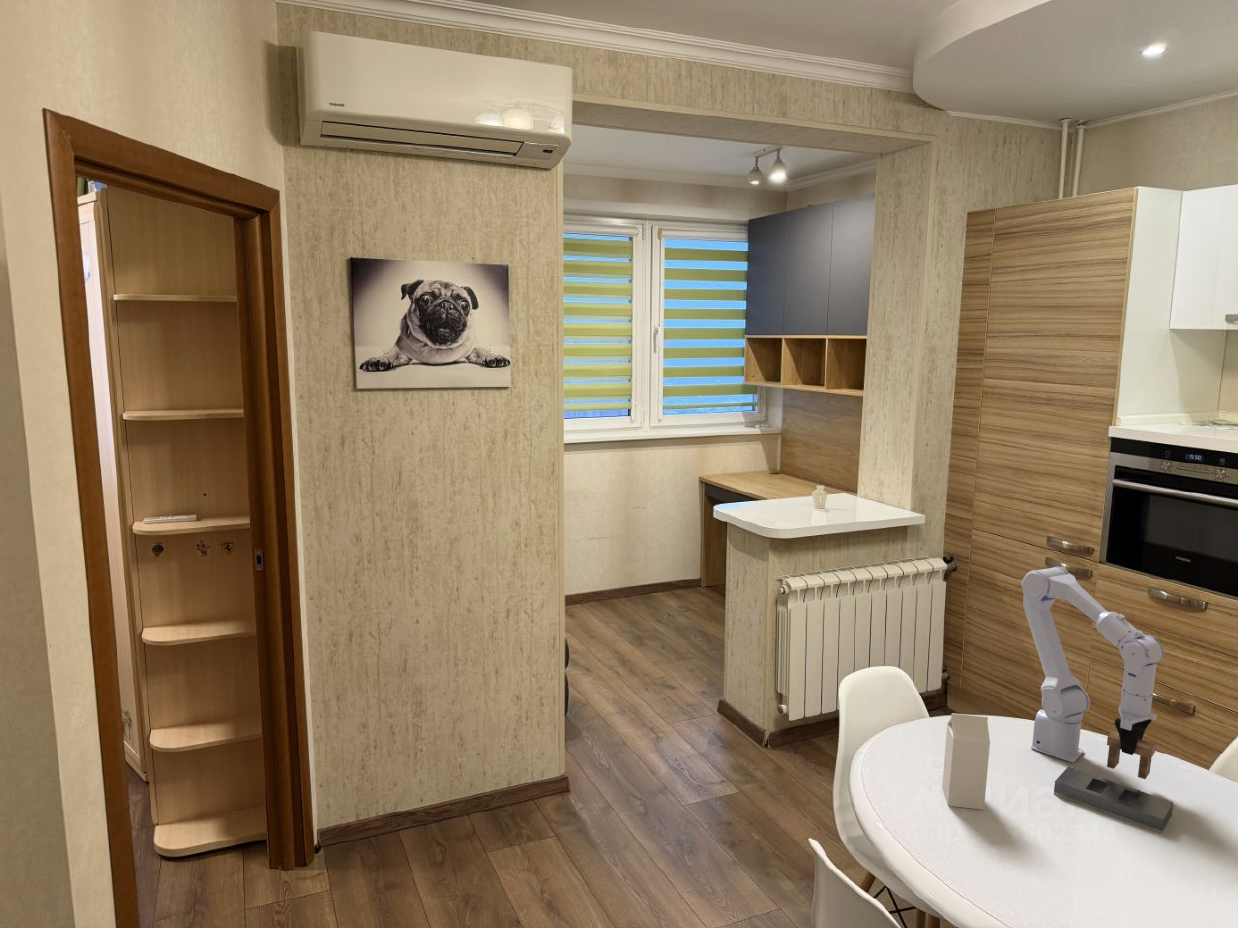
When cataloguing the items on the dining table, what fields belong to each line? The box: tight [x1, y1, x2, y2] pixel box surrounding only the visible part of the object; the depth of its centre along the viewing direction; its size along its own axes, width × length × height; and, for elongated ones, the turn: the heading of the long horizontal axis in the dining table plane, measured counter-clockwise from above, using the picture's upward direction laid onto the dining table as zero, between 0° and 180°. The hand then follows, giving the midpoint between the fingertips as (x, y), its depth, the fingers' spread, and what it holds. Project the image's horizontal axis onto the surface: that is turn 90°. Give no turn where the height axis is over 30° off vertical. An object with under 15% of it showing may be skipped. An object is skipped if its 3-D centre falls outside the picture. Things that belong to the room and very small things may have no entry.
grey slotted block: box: [1053, 766, 1175, 834], centre depth 174 cm, size 20×9×3 cm, turn 46°
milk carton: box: [941, 712, 991, 810], centre depth 174 cm, size 7×7×19 cm
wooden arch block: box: [1106, 730, 1157, 780], centre depth 182 cm, size 8×4×7 cm, turn 46°
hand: (1130, 749), depth 182 cm, fingers closed on wooden arch block, 4 cm apart
